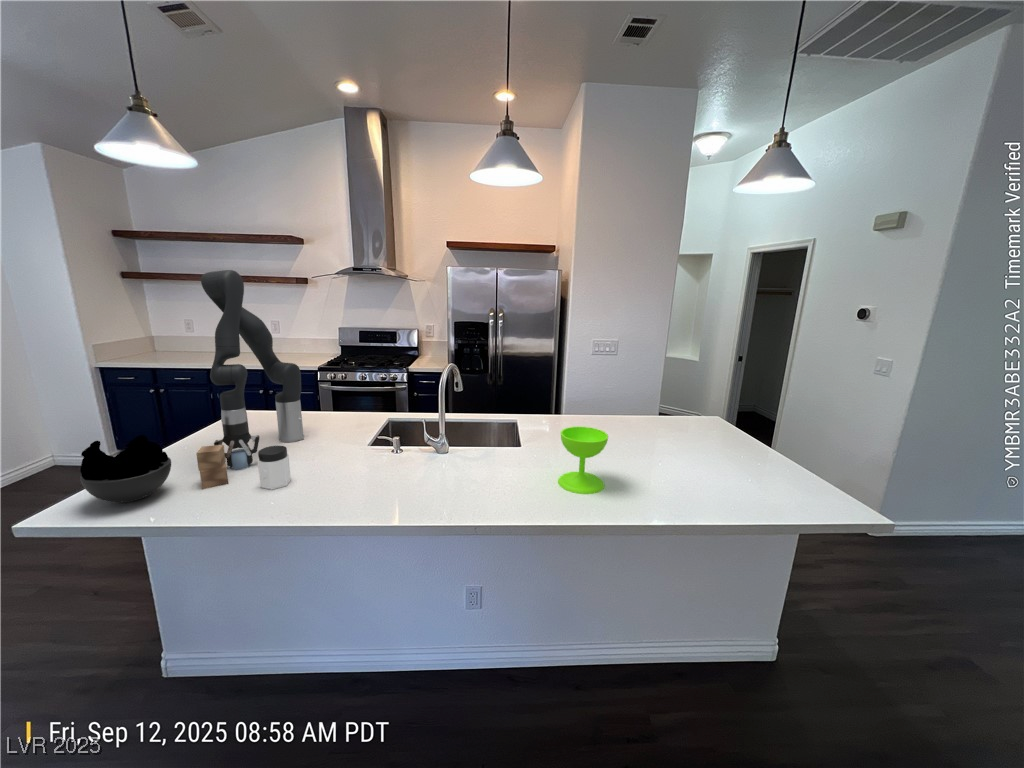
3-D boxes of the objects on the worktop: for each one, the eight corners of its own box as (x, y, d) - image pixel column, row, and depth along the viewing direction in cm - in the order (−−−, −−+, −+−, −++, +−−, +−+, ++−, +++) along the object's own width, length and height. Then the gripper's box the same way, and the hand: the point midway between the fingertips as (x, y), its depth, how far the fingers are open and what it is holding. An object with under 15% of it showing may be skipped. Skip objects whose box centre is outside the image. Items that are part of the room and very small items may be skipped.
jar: (254, 487, 134) (250, 452, 132) (275, 476, 142) (272, 443, 139) (276, 491, 132) (272, 456, 129) (296, 480, 139) (293, 447, 137)
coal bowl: (192, 487, 133) (183, 432, 129) (123, 520, 113) (110, 456, 109) (142, 480, 137) (132, 426, 132) (67, 510, 117) (53, 448, 113)
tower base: (227, 476, 141) (225, 460, 140) (228, 484, 136) (226, 467, 135) (202, 481, 137) (199, 464, 136) (202, 489, 132) (199, 472, 131)
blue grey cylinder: (249, 463, 152) (247, 448, 151) (248, 468, 148) (246, 452, 146) (233, 465, 150) (231, 450, 149) (231, 470, 145) (229, 454, 144)
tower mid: (225, 461, 139) (223, 444, 138) (221, 468, 134) (218, 450, 132) (204, 463, 137) (201, 446, 136) (198, 470, 131) (196, 453, 130)
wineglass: (567, 470, 154) (569, 423, 150) (609, 479, 146) (613, 431, 143) (550, 486, 140) (553, 436, 136) (596, 498, 133) (600, 445, 129)
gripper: (259, 415, 151) (264, 458, 155) (212, 419, 145) (218, 464, 149) (257, 421, 145) (262, 466, 149) (208, 426, 139) (214, 473, 142)
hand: (240, 465), depth 149 cm, fingers closed on blue grey cylinder, 5 cm apart
